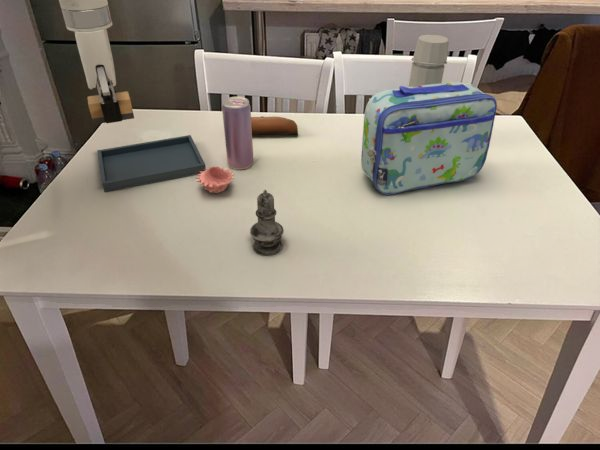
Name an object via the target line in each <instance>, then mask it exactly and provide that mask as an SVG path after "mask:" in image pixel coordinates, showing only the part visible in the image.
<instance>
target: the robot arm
mask: <svg viewBox="0 0 600 450" xmlns="http://www.w3.org/2000/svg"><path fill="white" fill-rule="evenodd" d="M58 2H59V6H60V9H61V13H62V17H63V20H64V24H65V27H66V30H67V31H70V32H74V36H75V42H76V46H77V50H78V54H79V57H80V58H79V59H80V61H81V64H82V68H83V72H84V75H85V80H86V84H87V88H88V89H89V90H91V91H92V90H93V89H97V92H98V95H99V96H100V100H101V103H100V105H101V109H102V112H103V116H104V120H105V123H104V124H112V123H119V122H120V123H121V122H122V121H124V120H123V119H122V115H121V111H120V107H119V103H118V100H116V96H115V93H117V91H116V90H115V88H114V87H116V86H117V79H116V78H117V77H116V70H115V63H114V58H113V57H114V56H113V53H112V48H111V44H110V39H109V34H108V30H107V29H109V28H111V27H113V20H112V16H111V15H112V14H111V11H110V7H109V2H108V0H58ZM113 100H114V101H113Z"/></svg>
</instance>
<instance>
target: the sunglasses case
mask: <svg viewBox="0 0 600 450" xmlns="http://www.w3.org/2000/svg"><path fill="white" fill-rule="evenodd" d="M251 125H252V135H253V134H254V135H269V134H270V135H288V134H289V135H291V134H292V135H296V136H299V134H298V132H299V131H298V129H299V128H298V124H297V123H296V122H295V120H293V119H289V118H287V117H283V116H264V115H263V116H251Z"/></svg>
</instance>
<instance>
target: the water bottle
mask: <svg viewBox="0 0 600 450" xmlns="http://www.w3.org/2000/svg"><path fill="white" fill-rule="evenodd" d="M449 43H450V40H449V38H448V37H446V36H444V35H437V34H422V35H419V36H418V37H417V40H416V43H415V49H414V53H413V56H412V57H411V60H410V61H411V68H410V75H409V81H408V87H413V86H422V85H431V84H440V83H443V77H444V72H445V65H447V64H448V51H449Z"/></svg>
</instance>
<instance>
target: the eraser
mask: <svg viewBox="0 0 600 450" xmlns="http://www.w3.org/2000/svg"><path fill="white" fill-rule="evenodd" d="M115 96H116V100H118V103H119V107H120V111H121V115H122V119H123V120H122V121H128V120H133V119H135V115H134V110H133V105H132V101H131V98H130V93H129V91H128V90H127V91H121V92H116V93H115ZM113 101H114V100H113ZM100 103H101V100H100V96H99V94H95V95H89V96H87V105H88V109H89V112H90V115H91V119H92V123H93V125H99V124H106V123H105V120H104V116H103V112H102V109H101V105H100Z"/></svg>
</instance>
